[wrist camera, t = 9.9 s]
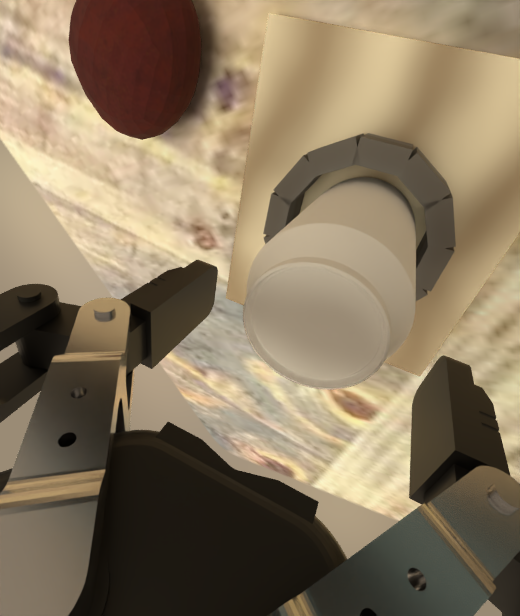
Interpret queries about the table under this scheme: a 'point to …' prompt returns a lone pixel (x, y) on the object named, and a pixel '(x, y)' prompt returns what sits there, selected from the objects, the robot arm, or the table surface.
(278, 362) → the beverage can
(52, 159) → the table surface
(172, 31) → the potato
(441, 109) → the ring board
